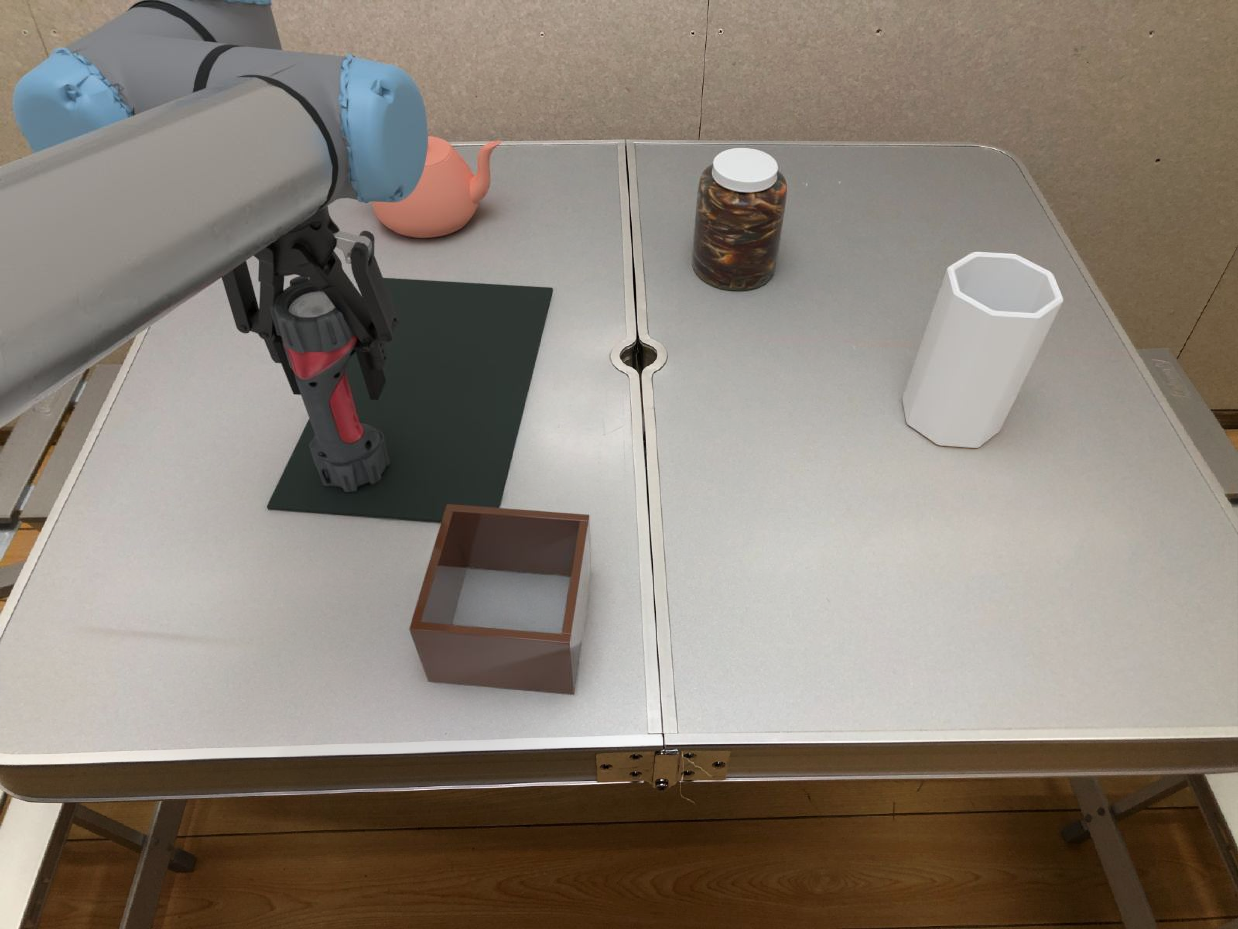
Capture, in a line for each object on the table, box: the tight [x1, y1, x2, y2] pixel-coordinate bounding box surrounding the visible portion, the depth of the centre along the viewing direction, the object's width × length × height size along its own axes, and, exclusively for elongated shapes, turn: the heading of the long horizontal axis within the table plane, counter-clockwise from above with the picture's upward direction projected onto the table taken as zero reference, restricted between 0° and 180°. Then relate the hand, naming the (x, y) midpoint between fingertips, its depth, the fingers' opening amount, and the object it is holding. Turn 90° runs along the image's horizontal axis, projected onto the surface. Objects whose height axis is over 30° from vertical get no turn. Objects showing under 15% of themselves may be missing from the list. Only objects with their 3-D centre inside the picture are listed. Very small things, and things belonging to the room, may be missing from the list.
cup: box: [901, 251, 1064, 449], centre depth 89 cm, size 11×11×18 cm
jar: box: [691, 147, 788, 292], centre depth 110 cm, size 12×12×15 cm
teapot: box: [372, 135, 502, 239], centre depth 119 cm, size 22×15×12 cm
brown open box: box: [409, 504, 593, 696], centre depth 75 cm, size 13×13×9 cm
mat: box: [266, 277, 554, 524], centre depth 99 cm, size 24×40×1 cm, turn 174°
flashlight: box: [270, 275, 390, 492], centre depth 82 cm, size 8×8×23 cm
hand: (340, 387), depth 81 cm, fingers closed on flashlight, 7 cm apart
